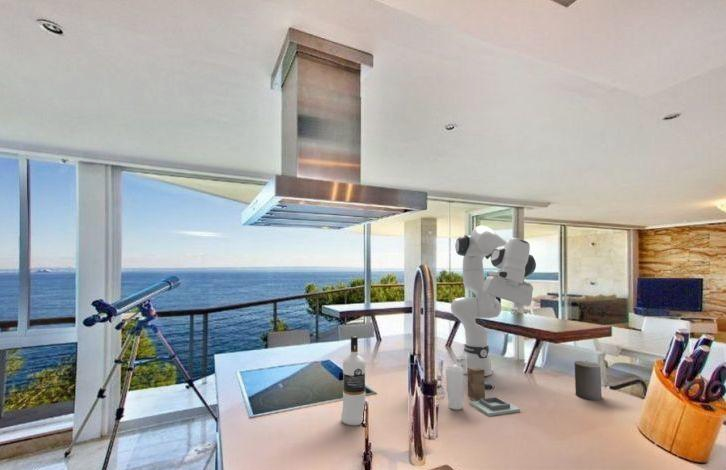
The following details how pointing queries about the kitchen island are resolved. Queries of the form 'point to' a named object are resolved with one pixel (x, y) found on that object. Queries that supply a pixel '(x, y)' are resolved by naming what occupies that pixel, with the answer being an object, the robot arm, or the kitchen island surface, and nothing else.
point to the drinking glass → (455, 387)
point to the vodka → (353, 386)
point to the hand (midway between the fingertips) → (503, 311)
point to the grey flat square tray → (494, 406)
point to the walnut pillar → (476, 383)
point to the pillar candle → (588, 380)
